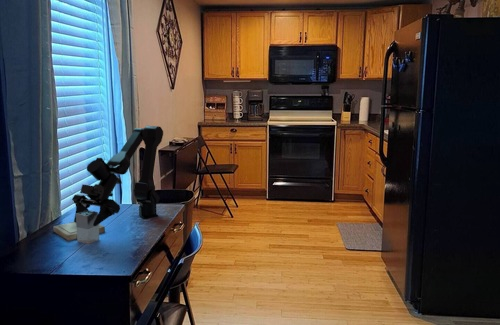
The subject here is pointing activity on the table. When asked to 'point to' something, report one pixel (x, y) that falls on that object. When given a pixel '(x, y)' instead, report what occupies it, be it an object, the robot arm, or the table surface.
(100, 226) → the stand
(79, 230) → the plate
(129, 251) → the table surface
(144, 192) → the robot arm
